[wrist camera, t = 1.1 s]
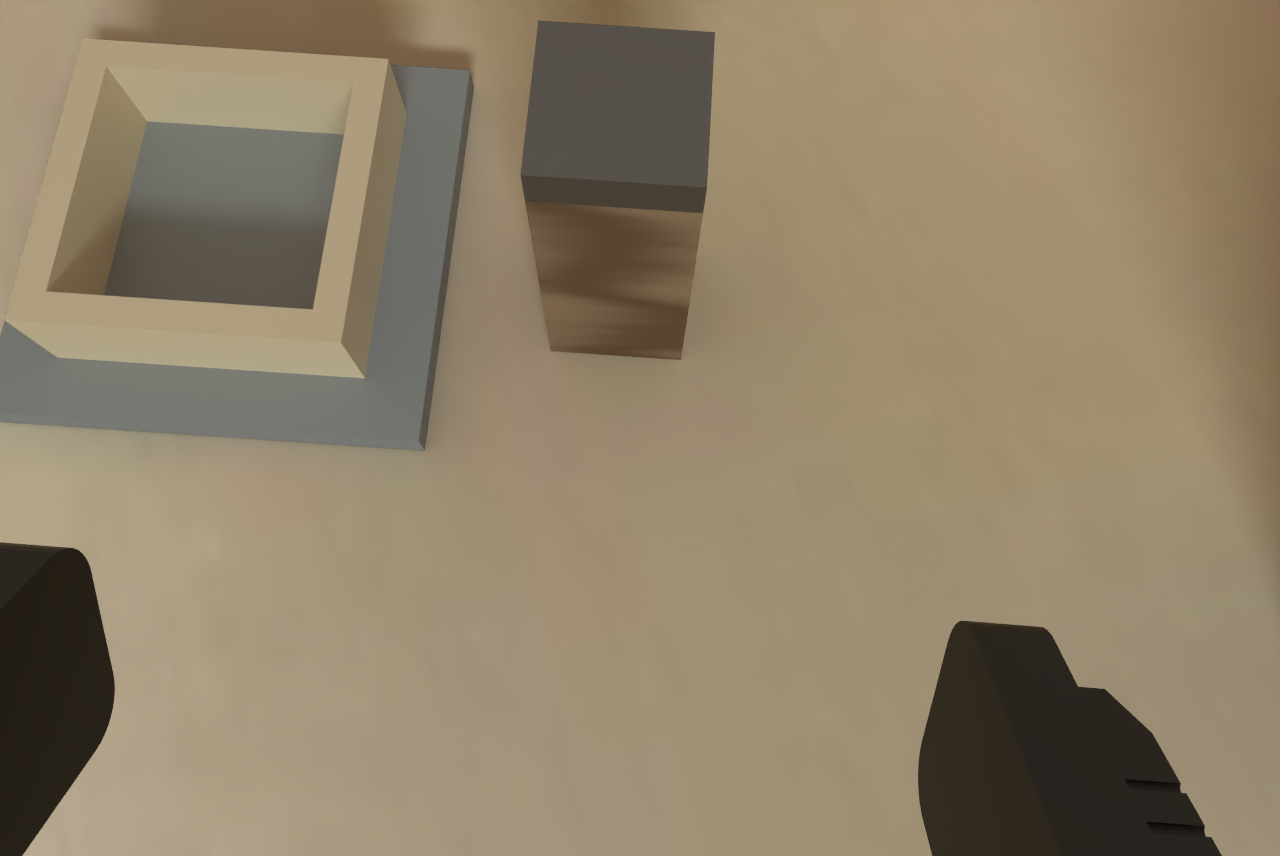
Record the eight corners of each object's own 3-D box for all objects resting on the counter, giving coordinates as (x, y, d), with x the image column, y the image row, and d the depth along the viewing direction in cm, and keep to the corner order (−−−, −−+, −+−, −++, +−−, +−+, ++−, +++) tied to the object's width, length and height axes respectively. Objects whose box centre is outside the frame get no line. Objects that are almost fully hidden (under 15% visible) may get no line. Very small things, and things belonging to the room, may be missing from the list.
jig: (473, 87, 38) (457, 12, 34) (424, 450, 33) (398, 411, 29) (95, 62, 38) (36, -16, 34) (-3, 421, 33) (-83, 378, 30)
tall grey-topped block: (687, 243, 36) (715, 32, 25) (680, 359, 34) (706, 187, 24) (562, 235, 36) (538, 20, 25) (551, 350, 34) (520, 174, 24)
